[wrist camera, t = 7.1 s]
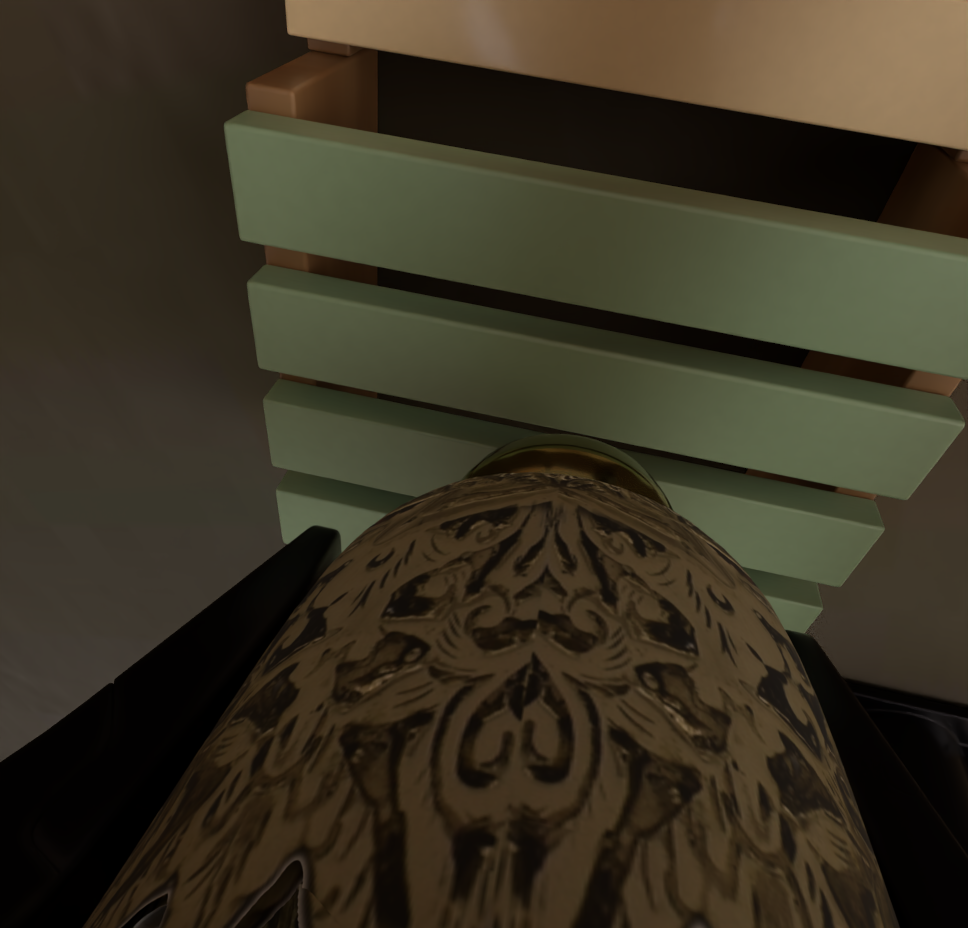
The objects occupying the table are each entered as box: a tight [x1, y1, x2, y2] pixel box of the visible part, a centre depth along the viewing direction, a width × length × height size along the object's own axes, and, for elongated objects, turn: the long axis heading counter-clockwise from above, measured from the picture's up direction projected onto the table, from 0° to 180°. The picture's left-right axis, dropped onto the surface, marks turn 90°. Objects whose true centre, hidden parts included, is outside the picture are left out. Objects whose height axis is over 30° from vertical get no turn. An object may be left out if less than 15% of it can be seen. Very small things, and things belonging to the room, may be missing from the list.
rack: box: [224, 0, 968, 633], centre depth 11 cm, size 12×20×5 cm, turn 174°
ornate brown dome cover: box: [82, 434, 900, 928], centre depth 8 cm, size 8×7×8 cm
